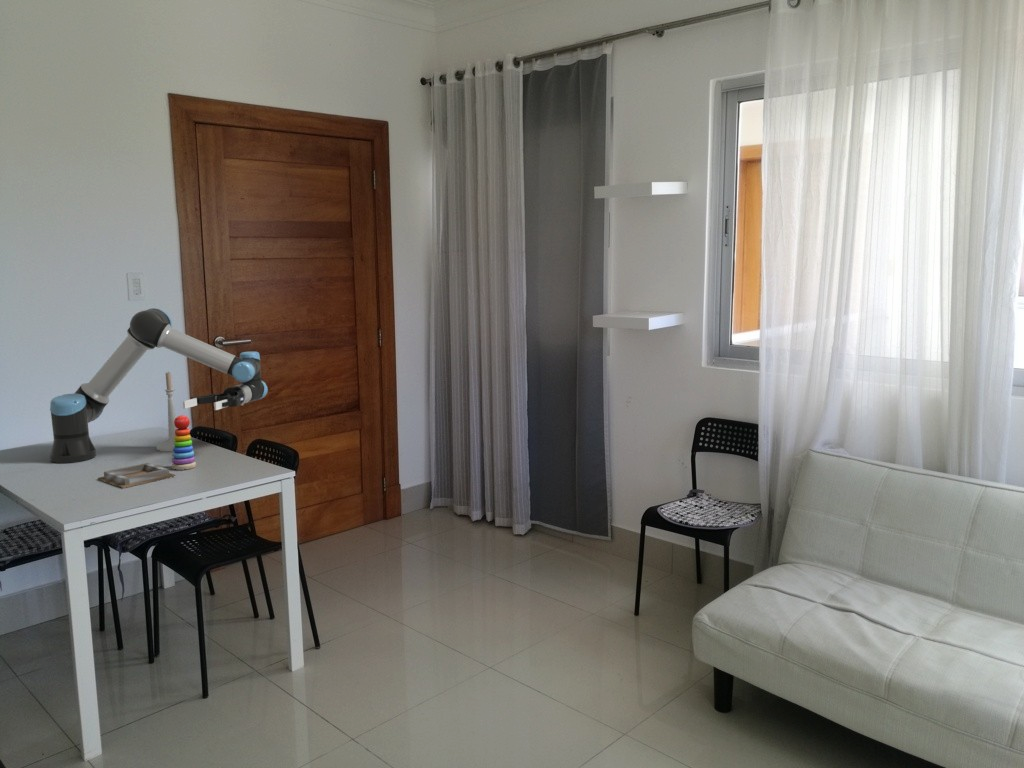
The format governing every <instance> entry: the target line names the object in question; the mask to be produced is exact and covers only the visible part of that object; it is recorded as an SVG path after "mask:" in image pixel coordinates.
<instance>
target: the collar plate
mask: <svg viewBox="0 0 1024 768" xmlns="http://www.w3.org/2000/svg"><path fill="white" fill-rule="evenodd" d="M174 476H177V475H176V474H174V473H170V469H169V468H165V467H162V466H160V465H159V466H158V465H155V464H152V463H149V462H145V463H140V464H139V463H138V464H135V465H130V466H126V467H125V466H124V467H120V468H116V469H111V470H106V471H103V476H100V477H97V480H98V479H99V480H98V481H100V480H102V481H101V482H103V481H105V482H104V483H106V482H107V483H106V484H109V483H110V484H109V485H111V484H113V485H112V486H114V485H116V486H115V487H117V486H118V487H117V488H120V487H121V488H120V489H122V488H124V489H127V488H126V487H128V488H131V486H132V487H136V486H135V485H137V486H141V485H145V483H146V484H149V483H148V482H150V483H154V482H153V481H155V482H158V481H157V480H159V481H162V479H163V480H167V479H166V478H168V479H171V478H170V477H172V478H175V477H174ZM140 484H141V485H140Z"/></svg>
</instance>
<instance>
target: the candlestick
mask: <svg viewBox="0 0 1024 768" xmlns="http://www.w3.org/2000/svg"><path fill="white" fill-rule="evenodd" d="M172 379H173V378H172V373H171V372H169V371H167V372H165V382H166V384H165V385H166V389H164V391H165V392H166V395H167V420H168V421H167V423H168V427H167V428H168V440H166V441H164V442H161V443H160V444H158V445H157V446H156V450H157V451H158V450H160V451H159V452H174V451H173V448H174V447H175V445H174V442H175V440H174V437H175V435H176V434H175V430H176V429H177V428H176V427H175V425H174V421H175V418H176V417H177V416H176V409H175V403H174V398H173V396H174V393H175V389H174V388H173V381H172ZM191 445H192V446H193V443H192V444H191Z"/></svg>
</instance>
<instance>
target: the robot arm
mask: <svg viewBox="0 0 1024 768" xmlns="http://www.w3.org/2000/svg"><path fill="white" fill-rule="evenodd" d="M126 332H127V337H125V339H124V340H123V341H122V342H121V344H120V345H119V346H118V347H117V348H116V350H114V351H113V353H112V355H111V356H110V357H109V358H108V359H107V360H106V362H104V364H103V365H102V366H101V368H100V369H99V370H98V371H97V372H96V373H95V374H94V376H93V377H92V379H90V381H89V382H86V383H82V384H80V385H79V387H78V388H77V390H76V391H75V392H74V393H65V394H62V395H57V396H55V397H54V398H51V400H50V405H49V407H50V408H49V411H50V417H51V426H52V434H53V442H52V446H51V450H50V453H49V459H50V460H49V461H50V462H52V463H55V462H56V464H67V463H69V462H71V463H78V461H79V462H83V461H89V460H91V459H94V458H95V456H96V457H97V451H96V447H95V445H94V444H93V441H92V439H91V437H90V433H89V430H90V429H89V423H91V422H93V421H95V420H97V419H98V418H100V416H101V415H102V414H103V411H104V409H105V408H106V407H107V405H108V404H109V403H110V399H109V396H110V395H111V394H112V393H113V391H114V390H115V389H116V387H118V386H119V385H120V383H121V382H122V381H123V380H124V378H125V377H126V376H127V375H128V373H129V372H130V371H131V370H132V369H133V368H134V367H135V365H136V364H137V363H138V362H139V360H140V359H141V358H142V357H143V356H144V354H145V353H146V352H147V351H148V350H154V349H155V348H157V349H160V348H164V349H167V350H170V351H172V352H174V353H176V354H179V355H181V356H184V357H186V358H188V359H190V360H193V361H196V362H198V363H199V364H200V363H201V364H203V365H205V366H207V367H209V368H212V369H214V370H217V371H219V372H221V373H223V374H226V375H228V376H230V377H233V378H234V380H236V381H237V382H239V383H241V384H238V385H234V386H230V387H227V388H225V389H224V391H223V392H220V393H213V394H206V395H199V396H191V397H190V399H187V400H182V405H183V406H182V407H183V409H184V410H185V409H189V408H192V407H194V408H196V407H197V406H198V405H207V404H213V407H214V411H219V410H222V409H226V408H228V407H229V408H230V407H231V408H235V407H238V406H244V405H245V404H247V403H252V402H255V401H259V400H262V399H263V398H265V397H266V396H267V395H268V390H269V389H268V386H267V383H266V382H264V381H263V380H262V368H261V357H260V356H261V355H260V352H258V351H244V352H241V353H240V354H239V357H238V356H236V355H234V354H232V353H230V352H227V351H225V350H223V349H220V348H218V347H216V346H213V345H211V344H209V343H206V342H205V341H202V340H200V339H197V338H195V337H192V336H191V335H188V334H187V333H183V332H181V331H178V330H176V329H175V328H173V321H172V318H171V317H170V315H169V314H168V312H166V311H164V310H163V309H160V308H153V307H152V308H149V309H145V310H140V311H139V312H137V313H135V314H134V315H133V316H132V317H131V319H130V322H129V327H128V329H127V330H126Z"/></svg>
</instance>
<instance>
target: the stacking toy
mask: <svg viewBox="0 0 1024 768" xmlns="http://www.w3.org/2000/svg"><path fill="white" fill-rule="evenodd" d="M190 422H191V421H190V418H189V417H188V416H186V415H184V414H183V415H181V414H180V415H178V416H176V418H175V421H174V425H175V427H176V428H177V429H176V430H175V434H176V435H175V437H174V440H175V442H174V445H175V447H174V448H173V450H174V451H173V453H172V456H173V457H172V459H171V462H172V465H171V468H172V469H173V470H175V469H176V471H185V470H184V469H187V470H191V469H194V468H195V467H196V466H197V463H196V461H195V460H196V458H195V456H194V455H195V451H194V446H193V440H192V436H191V434H190V433H191V430H190V428H188V427H189V426H190V425H191V423H190ZM191 444H192V445H191Z"/></svg>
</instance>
